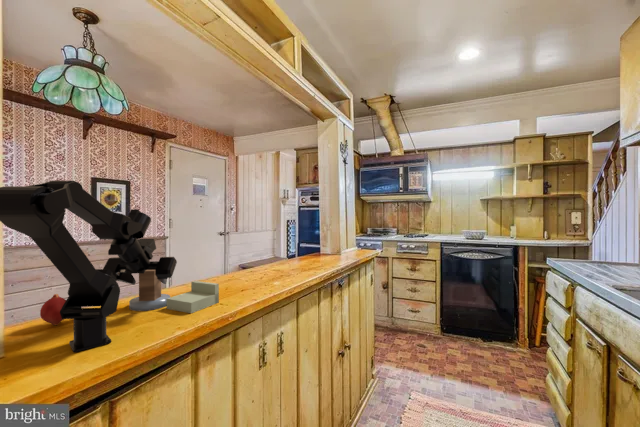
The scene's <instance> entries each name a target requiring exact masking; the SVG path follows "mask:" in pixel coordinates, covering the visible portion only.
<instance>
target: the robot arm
mask: <svg viewBox="0 0 640 427" xmlns="http://www.w3.org/2000/svg"><path fill="white" fill-rule="evenodd" d="M66 210H68V211H69V212H71V213H72V214H74V215H75V216H76V217H78V218H79V219H81V220H82V221H84V222H86V223H87V224H89V225H90V226H91V232H92V233H93V234H94V236H96V237H97V238H98V239H99V240H103V241H105V240H107V241H108V240H109V241H111V240H112V241H111V243H110V246H109V249H108V251H107V252H108V253H107V254H108V256H117V257H108V259H107V261H106V263H105V264H104V265H103V268H100V269H99V268H98V269H97V268H95V266H94V264H92V262H91V261H90V259H89V258H88V256H87V255H86V254H85V253H84V251H83V249H82V248H81V247H80V246H79V244H78V242H77V241H76V239H74V237H73V235H72V234H71V232H69V230H68V229H67V227H66V226H65V224H64V218H65V215H66ZM151 222H152V219H151V217H150V215H148V214H146V213H145V212H141V211H140V210H139V209H137V208H135V209H130V210H129V213H128V215H125V214H123V213H119V212H115V211H112V210H111V209H109V208H108V207H107V206H105V205H104V204H103V203H102V202H100V201H99V200H97V198H95V197H94V196H93V195H92V194H90V193H89V192H88V191H87V190H85V189H84V188H83V186H82V184H81V183H80V182H78V181H75V180H58V179H57V180H55V179H54V180H50V181H45V182H42V183H39V184H32V185H31V184H29V185H26V186H21V185H19V186H13V185H12V186H11V185H10V186H9V185H8V186H6V185H5V186H0V223H2V224H3V225H4V226H6V227H7V228H8V229H11V230H14V231H15V232H18V233H21V234H22V235H25V236H28V237H29V238H31V240H32V241H33V242H34V243H35V245H36V246H37V247H38V248H39V249H40V250H41V251H42V253H43V254H44V255H45V256H46V257H47V259H48V260H49V261H51V263H52V264H53V266H54V267H55V268H56V270H58V272H60V274H61V275H62V276H63V277H64V278H65V280H66V281H67V282H68V283H69V286H68V290H67V295H68V297H67V298H66V299H65V300H66V302H65V303H64V305H63V307H62V308H61V310H60V315H61V318H62V319H64V320H69V319H70V320H73V339H72V340H70V341H69V344H68V345H69V346H70V348H71V350H72V352H73V353H78V352H82V351H84V350H89V349H93V348H96V347H101V346H104V345H107V344H111V343H112V339H111V338H110V337H109V335H108V334H107V317H110V316H111V315H112V314H114V313H116V312H117V310H118V304H119V299H120V294H121V289H120V286H119V282H121V283H124V284H125V283H126V284H130V285H136V282H137V281H136V279H135V277H134V275H133V274H139V273H144V272H145V270H155V275H156V276H157V279H158V280H159V281H161V284H164V285H166V284H167V282H168V281H167V280H168V279H170V278H172V277H173V274H174V271H175V270H176V266H177V263H178V261H177V259H176V258H175V257H174V256H160V257H159V259H158V261H157V260H156V261H150V260H152V259H153V257H154V255H153V253H154V251H155V250H157V246H156V241H155V239H154V238H144V237H145V235H146V232H147V230H148V228H149V226H150V224H151Z"/></svg>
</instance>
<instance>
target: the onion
mask: <svg viewBox="0 0 640 427" xmlns="http://www.w3.org/2000/svg"><path fill="white" fill-rule="evenodd" d="M66 300H67V299H65V298H64V297H60V296H59V294H58V293H54V294H53V295H52V297H51V298H49V299H47V300H46V301H45V302H44V303H43V305H41V308H40V310H39V311H40V313H39V315H40V318H41V319H42V320H43V321H44V322H46V323H48V324H51V325H52V326H57V325H59V324H60V323H61V322H62V321H64V320H65V319H62V318H61V315H60V310H61V308H62V307H63V305H64V303H65V302H66Z"/></svg>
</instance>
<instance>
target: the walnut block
mask: <svg viewBox="0 0 640 427" xmlns="http://www.w3.org/2000/svg"><path fill="white" fill-rule="evenodd" d="M161 294H162V282H161V281H159V280H158V279H157V276H156V275H155V270H145V272H144V273H138V297H139V301H155V300H156V299H158V298H159V297H161Z"/></svg>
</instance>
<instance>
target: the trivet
mask: <svg viewBox="0 0 640 427" xmlns="http://www.w3.org/2000/svg"><path fill="white" fill-rule="evenodd" d="M167 298H171V295H170V294H167V293H161V297H159V298H158V299H156V300H155V301H139V296H136V297H134V298H131V299H130V300H128V301H129V310H130V311H133V312H134V311H135V312H148V311H154V310H159V309H162V308H164V307H165V308H166V299H167Z"/></svg>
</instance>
